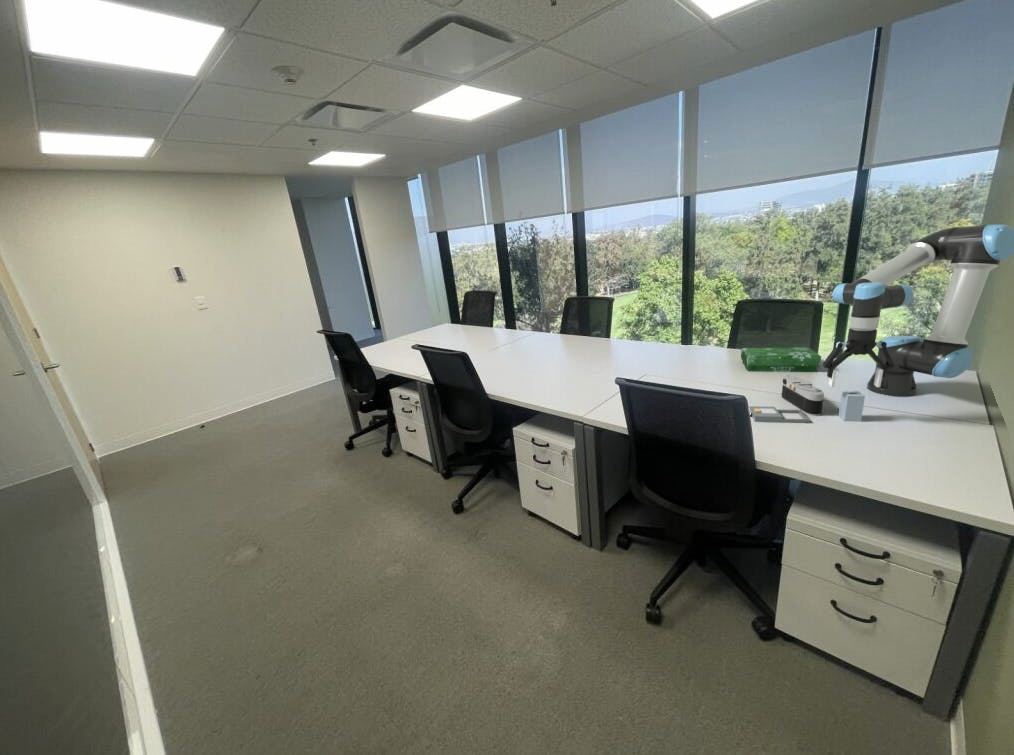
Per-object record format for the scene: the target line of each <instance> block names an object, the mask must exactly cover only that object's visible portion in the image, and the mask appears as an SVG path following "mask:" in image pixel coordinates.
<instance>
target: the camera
mask: <svg viewBox="0 0 1014 755" xmlns="http://www.w3.org/2000/svg"><path fill="white" fill-rule="evenodd" d="M782 378H783V379H782V389H781V398H782V399H783V400H785V401H786V402H787V403H789V404H791V405H792V406H794V407H795V408H796V409H797V410H801V411H802V412H803V413H804V414H805V415H806V416H807V415H808V416H813V417H819V416H821V415H822V410H823V405H824V404H823V403H824V395H825V392H824V391H823V390H821V388H820V387H816V386H813V383H811V382H809V381H808V380H806V379H804V378H802V377H799V376H798V375H790V374H787V375H784V376H782Z"/></svg>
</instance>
